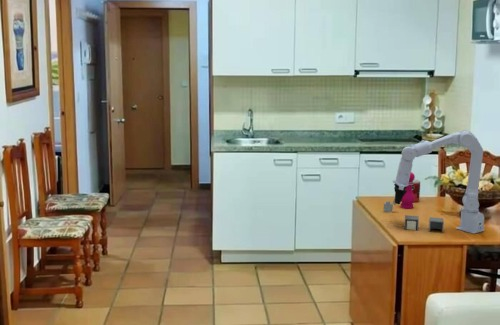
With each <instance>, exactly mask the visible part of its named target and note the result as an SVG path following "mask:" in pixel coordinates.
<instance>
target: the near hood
mask: <svg viewBox="0 0 500 325" xmlns="http://www.w3.org/2000/svg"><path fill="white" fill-rule="evenodd" d="M428 220H429V221H428V232H431V230H432V229H433V230H441V233H442V234H443V233H444V222H445V221H444V218H442V217H429V219H428Z"/></svg>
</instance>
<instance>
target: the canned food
mask: <svg viewBox="0 0 500 325" xmlns="http://www.w3.org/2000/svg"><path fill="white" fill-rule="evenodd" d="M412 192H413V195H414V198H415V201H414V202H413V203H412V204H414V203H415V204H416V203H419V201H420V197H421V196H420V194H421V181H420V180H418V179H414V180H413V185H412Z"/></svg>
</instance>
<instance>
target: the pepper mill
mask: <svg viewBox="0 0 500 325" xmlns="http://www.w3.org/2000/svg"><path fill="white" fill-rule="evenodd" d="M415 178H416V177H415V174H414V172H412V171H411V174H410V178H409V182H408V186H407V187H406V189H405V190H407V192H406V193H405V195H404V196H403V198H402V200H401V203H400V208H401V209H405V210H410V209H413V208H414V203H413V202H414V201H415V198H414V195H413V192H412V185H413V180H416V179H415Z"/></svg>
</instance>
